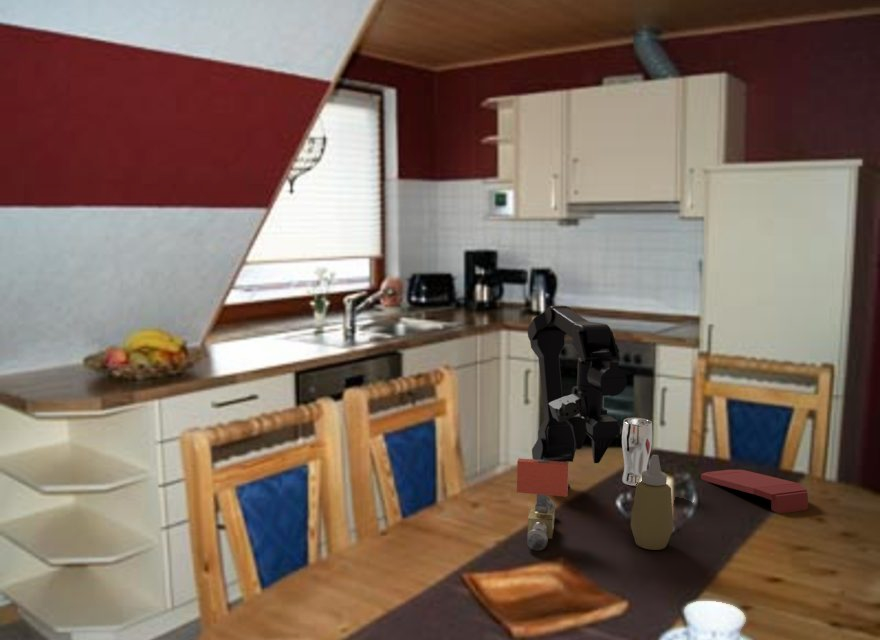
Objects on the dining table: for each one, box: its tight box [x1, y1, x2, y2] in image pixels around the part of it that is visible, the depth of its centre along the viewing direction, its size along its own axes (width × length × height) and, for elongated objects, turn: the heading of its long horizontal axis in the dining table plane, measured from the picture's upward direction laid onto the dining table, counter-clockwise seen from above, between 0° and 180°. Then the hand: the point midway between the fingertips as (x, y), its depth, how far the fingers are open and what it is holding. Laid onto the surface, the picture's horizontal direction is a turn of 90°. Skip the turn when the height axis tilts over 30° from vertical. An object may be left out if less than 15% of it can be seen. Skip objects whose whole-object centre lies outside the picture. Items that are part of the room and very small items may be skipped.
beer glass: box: [621, 417, 653, 487], centre depth 190 cm, size 7×7×15 cm
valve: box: [526, 497, 555, 552], centre depth 161 cm, size 18×5×4 cm, turn 168°
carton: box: [700, 469, 809, 514], centre depth 185 cm, size 12×5×25 cm
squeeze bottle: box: [629, 454, 674, 551], centre depth 154 cm, size 8×8×18 cm
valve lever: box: [516, 457, 570, 513], centre depth 160 cm, size 2×10×11 cm, turn 77°
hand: (587, 455), depth 168 cm, fingers open, 9 cm apart
